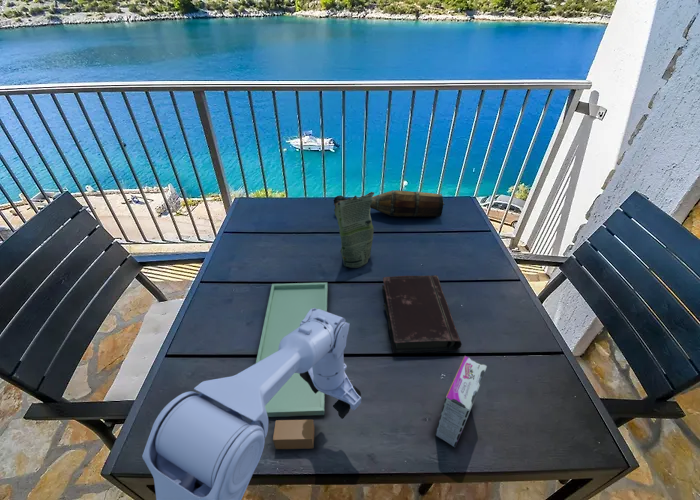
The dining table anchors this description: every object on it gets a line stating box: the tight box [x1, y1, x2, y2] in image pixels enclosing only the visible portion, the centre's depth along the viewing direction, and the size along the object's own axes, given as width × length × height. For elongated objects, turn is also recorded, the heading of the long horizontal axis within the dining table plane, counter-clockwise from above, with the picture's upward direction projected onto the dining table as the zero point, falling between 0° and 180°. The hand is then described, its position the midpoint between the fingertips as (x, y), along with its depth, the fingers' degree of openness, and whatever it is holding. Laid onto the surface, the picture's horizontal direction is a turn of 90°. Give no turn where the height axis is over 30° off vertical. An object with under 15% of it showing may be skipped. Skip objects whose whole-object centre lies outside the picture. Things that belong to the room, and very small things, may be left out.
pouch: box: [333, 191, 375, 269], centre depth 116 cm, size 11×12×25 cm
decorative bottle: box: [332, 189, 446, 218], centre depth 143 cm, size 11×11×45 cm
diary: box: [382, 274, 462, 354], centre depth 101 cm, size 19×25×5 cm
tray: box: [255, 282, 329, 418], centre depth 95 cm, size 42×18×2 cm, turn 2°
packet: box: [272, 419, 316, 450], centre depth 74 cm, size 4×8×4 cm, turn 91°
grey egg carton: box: [434, 355, 488, 448], centre depth 73 cm, size 11×5×16 cm, turn 147°
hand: (330, 401), depth 71 cm, fingers open, 7 cm apart
